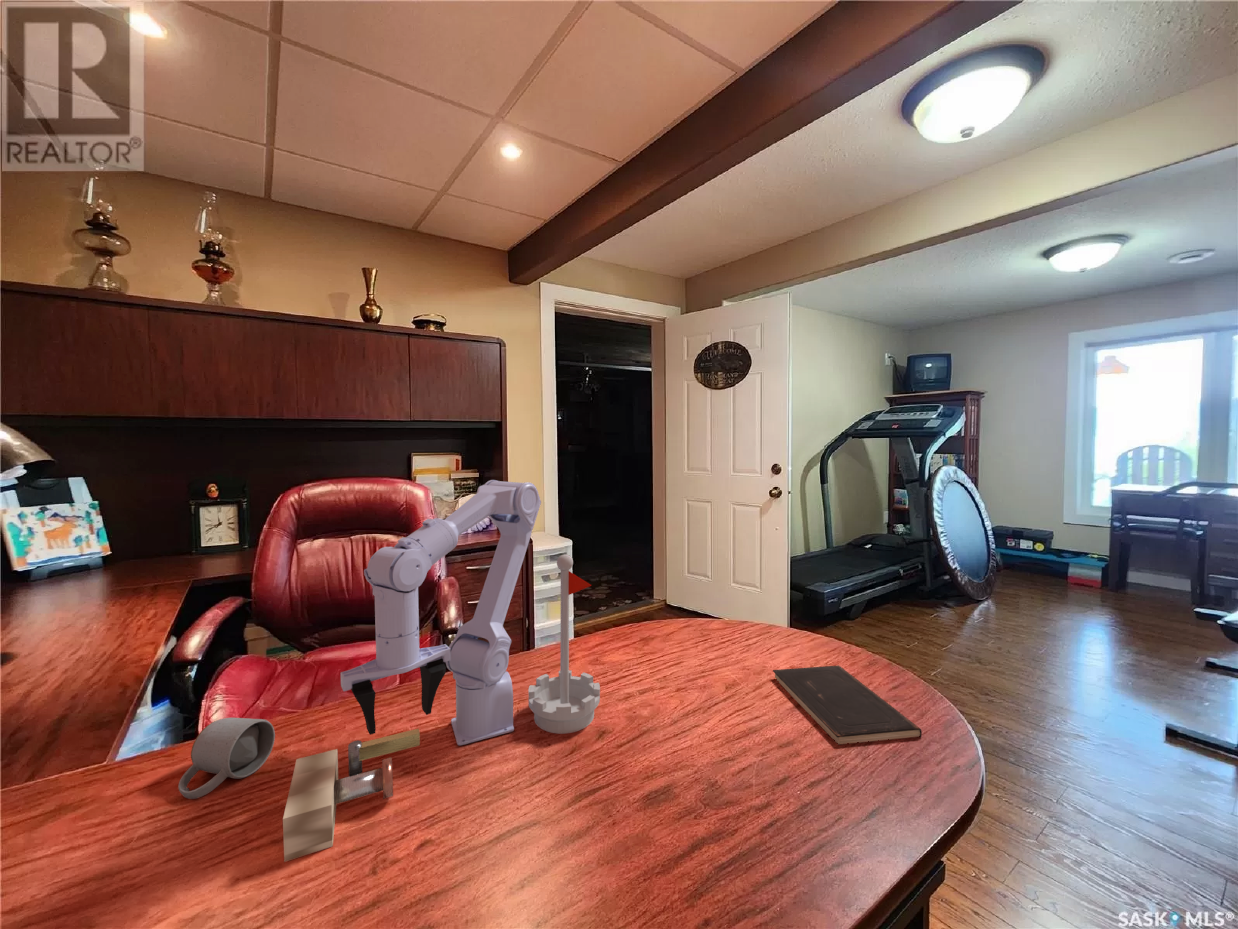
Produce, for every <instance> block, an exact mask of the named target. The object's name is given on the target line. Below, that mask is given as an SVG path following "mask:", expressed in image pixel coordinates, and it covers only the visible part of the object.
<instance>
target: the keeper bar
mask: <svg viewBox="0 0 1238 929" xmlns="http://www.w3.org/2000/svg"><path fill="white" fill-rule="evenodd" d="M420 734H421V732H420V728H416V729H415V728H414V729H411V730H406V731H402V732H399V733H395V734H390V735H387V736H382V737H380V738H375V739H374V738H373V739H370V740H366V741H362V740H354V741H352V742H350V743H348V744H347V745H348V746H347V749H348V752H347V754H348V758H347V759H348V777H350V776H354V775H357V774H361V773H363V761H365V760H368V759H373V758H377V757H381V756H384V755H388V754H392V753H396V752H400V751H403V750H407V749H411V748H414V747H419V746H420V745H421V744H420V743H421V742H420V741H421V739H420V738H421V736H420Z"/></svg>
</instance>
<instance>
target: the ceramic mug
mask: <svg viewBox="0 0 1238 929" xmlns="http://www.w3.org/2000/svg"><path fill="white" fill-rule="evenodd" d="M275 739H276V733H275V728H274V726H273V724H272V723H271V722H270V721H268V719H265V718H263V719H262V718H248V717H247V718H245V717H244V718H243V717H225V718H220V719H217V720H214V721H213V722H211V723H209V724H208V725H207V726H206V727H204V728H203V729H202V730H201V731H200V733H199V734H198V735H197V736H196V738H195V740H194V742H193V744H192V746H191V747H192V748H191V751H190V758H191V763H192V764H191V766H190V767H189V768H188V769H187V770H185V772H184V773H183V775H182V776H181V778H180V780H179V782H178V787H177V788H178V791H179V792H180V794H181V795H182V796H183V797H184V798H186V799H189V800H196V799H199V798H203V796H206V795H208V794H209V793H211V792H212V791H213V790H215V789H216V788H218V787H219V785H220V784H222V783H223V782H224V781H225V780H226V779H227V778H231V779H244V778H248V777H249V776H251V775H253V774H255V772H257V771H258V770H260V768H261V767H262V766H263V765H264V764H265V763H266V761H267V760H268V758H269V757H270V755H271V753H272V751H273V748H274V744H275ZM199 771H202V772H206V773H211V774H216V775H214V776H213V777H212V778H211V779H210V780H208V781H207V782H206V783H204V784H203V785H201V786H199V787H198V788H195V789H192V790H190V788H189V787H188V785H189V783H190V782H191V781H192V779H193V778H194V777H195V776H196V774H198V772H199Z"/></svg>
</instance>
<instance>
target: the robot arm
mask: <svg viewBox="0 0 1238 929" xmlns="http://www.w3.org/2000/svg"><path fill="white" fill-rule="evenodd" d="M541 504H542V500H541V497H540V494H539V490H538V489H537V487H536V485H535V484H534V483H532V482H530V481H529V482H528V481H526V482H516V481H515V482H514V481H500V480H496V479H490V480H488V481H487V482H485V483H484V484H482V485H480V486H478V487H477V491H476V494H474V495H473V496H471V497H470V498H469V499H468V500H467V501H465V502H464V503H463V504H462V505H461V506H459V507H458V508H456V510H454V511H453V512H452V513H451V514H450V515H448V516H447V517H446V518H445V519H443V518H438V517H435V518H426V519H425V520H424V521H423V522H421V524H422V526H421V527H419V528H418V529H416V530H415V531H413V532H411V533H410V534H409V535H408V536H406V537H401V538H399V539H398V540H397V543H396V544H395V545H394V546H383V547H381V548H379V549H378V550H377V551H376V552H375V553H374V554H373V555H371V557H370V559H369V560H368V564H367V567H366V568H364V570H363V575H364V577H365V579H366V581H367V582H368V583H369V584H370V585H371V588H372V595H373V596H374V617H375V618H374V620H375V623H374V624H375V626H374V627H375V655H376V656H375V659H372V660H370V661H367V662H366V663H363V664H361V665H359V666H355V667H353V668H351V669H348V670H345V671H341V672H340V687H341V689H342V691H343V692H347V691H350V690H351V693H352V694H353V697H354V698H355V700H356V702H358V704H359V706H360V709H361V710H362V714H363V717H364V720H365V725H366V730H367V732H368V734H369V736H370V735H374V734H376V731H377V730H376V728H377V727H376V726H377V725H376V717H375V704H376V703H375V702H376V695H377V694H376V693H377V692H376V691H375V690H374V688H373V686H374V685H373V683H372V682H374V681H377V680H380V679H385V678H387V677H391V676H395V675H400V674H405V673H408V672H411V671H413V670H415V669H418V668H419V671H420V681H421V710H422V711H423V712H424V714H425V715H426V716H427V715H431V714H432V709H433V704H434V700H435V696H436V695H437V692H438V688H439V686H440V684H441V681H442V680H443V679H444V676H445V675H446V672H447V671H446V669H448V670H449V671H451V672H452V678H453V679H454V680H455V717H453V718H451V720H450V723H451V727H452V730H453V733H454V737H455V741H456V744H457V746H463V745H468V744H472V743H475V742H478V741H482V740H485V739H489V738H493V737H497V736H500V735H504V734H508V733H512V732H514V730H515V726H514V691H513V690H514V689H513V682H512V678H511V675H510V673H509V671H507V668H508V667H509V661H510V660H509V659H510V658H509V657H510V647H511V644H512V639H511V637H510V636H509V634H508V633H507V631H506V629H505V628H504V623H505V620H506V616H507V614H508V609H509V606H510V603H511V599H512V598H513V595H514V591H515V587H516V585H517V582H518V579H519V575H520V572H521V569H522V565H523V562H524V559H525V555H526V552H527V550H528V547H529V543H530V539H531V537H532V533H533V529H534V527H535V523H536V521H537V517H538V513H539V512H540V511H539V510H540V507H541V506H542V505H541ZM487 518H489V519H490V521H491V522H492V524H494V526H495V527H497V529H498V530H499V533H500V537H499V539H498V542H497V546H496V549H495V552H494V555H493V558H492V561H491V563H490V567H489V569H488V573H487V576H486V579H485V581H484V585H483V587H482V589H481V590H482V591H481V593H480V596H479V598H478V599H479V600H478V602H477V605H476V609H475V611H474V615H473V618H471V619H470V620H468V621H467V622H465V623H463V624H462V625H461V626H459V627H458V630H457V633H456V635H455V637H454V639H453V640H452V642H450V644H449V646H448V645H447V644H446V643H445V644H440V645H436V646H430V647H429V646H428V647H422V648H420V616H419V610H420V609H419V587H420V586H422V584H423V582H424V581H425V579H426V578H427V575H428V574H427V573H428V572H429V570H431V569H432V567H433V565H435V564H436V563H437V562H438V561H440V560H441V559H442V558H444V557H445V556H446V555H448V553H450V552H452V550H454V549H455V548H456V547H457V546H458V542H459V536H460V535H462V534H464V533H465V532H467V531H468V530H470V529H471V528H473V527H474V526H476V525H477V524H479V523H480V522H481V521H483V520H485V519H487ZM479 638H481V639H479ZM482 638H483V639H485V640H487V641H485V640H482ZM444 663H445V664H444Z"/></svg>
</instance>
